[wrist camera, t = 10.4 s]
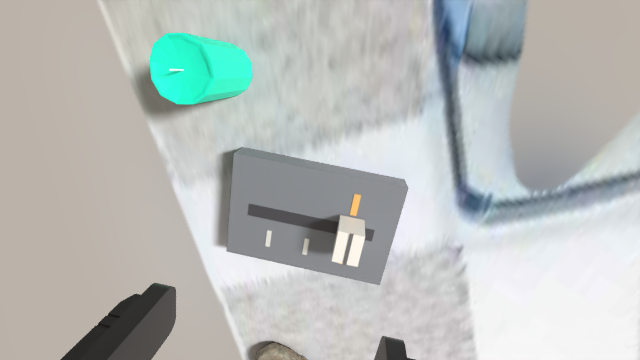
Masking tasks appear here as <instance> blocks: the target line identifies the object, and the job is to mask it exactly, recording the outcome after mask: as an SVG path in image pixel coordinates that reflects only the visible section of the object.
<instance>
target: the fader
mask: <svg viewBox="0 0 640 360" xmlns="http://www.w3.org/2000/svg"><path fill="white" fill-rule="evenodd" d="M364 240H365V220H362V219H357V218H352V217H347V216H342V215H340V219H339V224H338V228H337V233H336V238H335V242H334V249H333V256H332V262H337V263H341V264H343V265H351V266H355V267H358V263H359V259H360V256H361V252H362V248H363V244H364Z"/></svg>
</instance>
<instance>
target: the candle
mask: <svg viewBox="0 0 640 360" xmlns="http://www.w3.org/2000/svg"><path fill="white" fill-rule="evenodd" d="M149 63H150V72H151V80H152V81H153V83H154V85H155V87H156V88H157V90H158V92H159V94H160V95H161V96H163V97H165V98H166V99H168V100H170V101H172V102H174V103H176V104H197V103H203V102H208V101H213V100H218V99H223V98H228V97H233V96H237V95H239V94H241V93H242V92H244V91H245V90H247V88H248V86H249V84H250V82H251V80H252V78H253V77H252V63H251V62H250V60H249V58H248V57H247V55H246V53H245V52H244V51H243V50H242V49H240V48H238V47H237V46H235V45H233V44H231V43H226V42H222V41H217V40H213V39H208V38H204V37H199V36H195V35H190V34H186V33H166V34H165V35H164V36H163V37H161V38H160V39H159V40H158V41H156V42H155V43H154V44H153V48H152V52H151V56H150V60H149Z"/></svg>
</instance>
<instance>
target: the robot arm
mask: <svg viewBox="0 0 640 360" xmlns="http://www.w3.org/2000/svg"><path fill="white" fill-rule="evenodd" d="M175 319H176V289H175V287H172V286H167V285H163V284H159V283H154V284H152V285H151V286H150V287H149V288H148V289H147V290H146V291H145V292H144V293H143V294H142V295H139V294H134V295H133V296H130V297H129V298H127V299H125V300H123V301H121V302H120V303H119V304H118V305H117V306H116V307H115V308H114V309H113V310H112V311H110V312H109V314H108V316H105V317H104V318H103V319H102V320H101V321H100V322H99V323H98V325H97V326H95V327H94V328H93V329H92V330H91V331H90V332H89V333H88V334H87V335H86V336H85V337H83V338H82V340H80V341H79V342H78V343H77V344H76V345H75V346H74V347H73V348H72V349H71V350H70V351H69V352H68V353H67V354H66V355H65V356H64V357H63V358H62V359H61V360H151V359H152V358H153V356H154V355H155V354H156V352H157V351H158V349H159V348H160V347H161V345H162V344H163V342H164V341H165V340H166V338H167V337H168V336H169V334H170V332H171V331H172V328H173V326H174V323H175ZM374 360H414V359H410V358H407V355H406V349H405V344H404V341H403V340H399V339H394V338H390V337H386V336H382V338H381V341H380V344H379V347H378V350H377V353H376V356H375V359H374Z"/></svg>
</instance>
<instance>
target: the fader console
mask: <svg viewBox="0 0 640 360" xmlns="http://www.w3.org/2000/svg"><path fill="white" fill-rule="evenodd" d="M407 191H408V186H407V184H406V182H405V180H403V179H398V178H394V177H389V176H384V175H379V174H374V173H369V172H364V171H359V170H354V169H349V168H344V167H339V166H334V165H329V164H324V163H319V162H314V161H309V160H304V159H299V158H294V157H289V156H284V155H279V154H274V153H269V152H264V151H259V150H254V149H249V148H244V147H242V148H241V149H239V150H238V151H236V152H234V155H233V169H232V183H231V197H230V211H229V224H228V238H227V252H232V253H236V254H241V255H246V256H250V257H255V258H259V259H264V260H268V261H273V262H277V263H282V264H286V265H291V266H295V267H300V268H304V269H309V270H313V271H318V272H322V273H327V274H332V275H336V276H341V277H345V278H350V279H354V280H359V281H363V282H368V283H372V284H377V285H380V282H381V279H382V275H383V272H384V269H385V265H386V262H387V258H388V255H389V252H390V248H391V245H392V242H393V238H394V235H395V231H396V228H397V225H398V221H399V218H400V215H401V211H402V208H403V204H404V201H405V198H406V194H407ZM340 215H342V216H347V217H352V218H357V219H362V220H365V240H364V244H363V248H362V252H361V256H360V259H359V263H358V267H355V266H351V265H343V264H341V263H337V262H332V256H333V249H334V242H335V238H336V233H337V228H338V224H339V219H340Z"/></svg>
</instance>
